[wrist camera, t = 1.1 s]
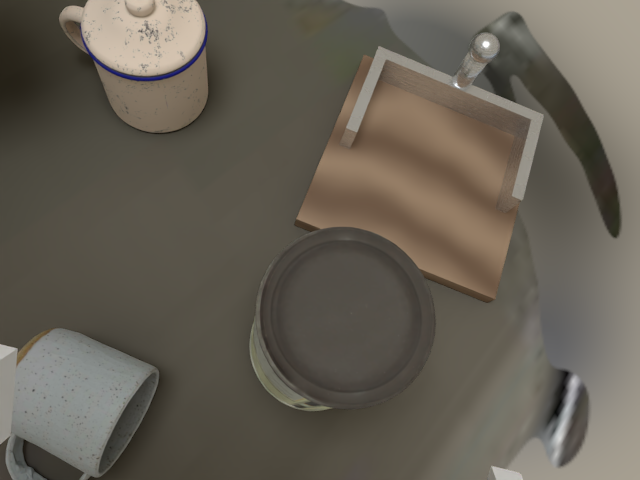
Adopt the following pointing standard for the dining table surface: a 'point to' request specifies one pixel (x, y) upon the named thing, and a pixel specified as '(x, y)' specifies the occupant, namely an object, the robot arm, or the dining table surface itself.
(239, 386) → the dining table surface
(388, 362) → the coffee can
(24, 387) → the ceramic mug
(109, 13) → the teacup with lid
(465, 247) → the board
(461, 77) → the keeper cradle
